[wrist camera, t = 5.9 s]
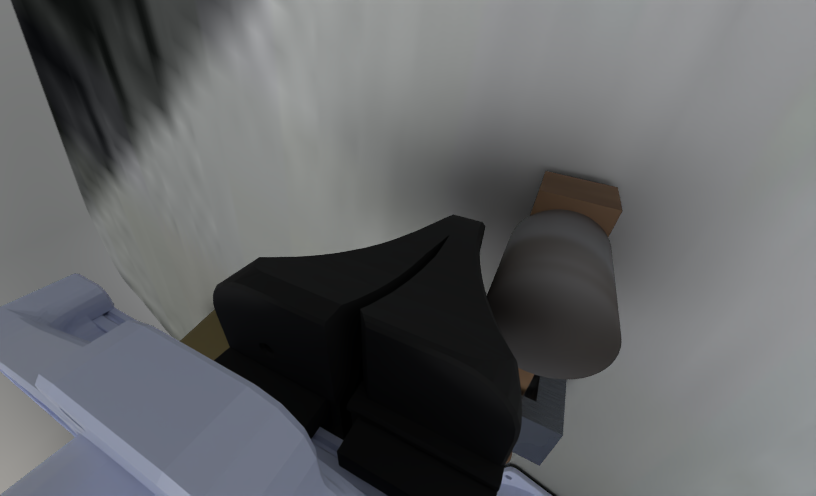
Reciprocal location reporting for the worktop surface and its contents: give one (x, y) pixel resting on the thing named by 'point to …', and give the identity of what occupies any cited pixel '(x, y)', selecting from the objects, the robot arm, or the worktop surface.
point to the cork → (207, 337)
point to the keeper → (541, 418)
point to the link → (560, 283)
